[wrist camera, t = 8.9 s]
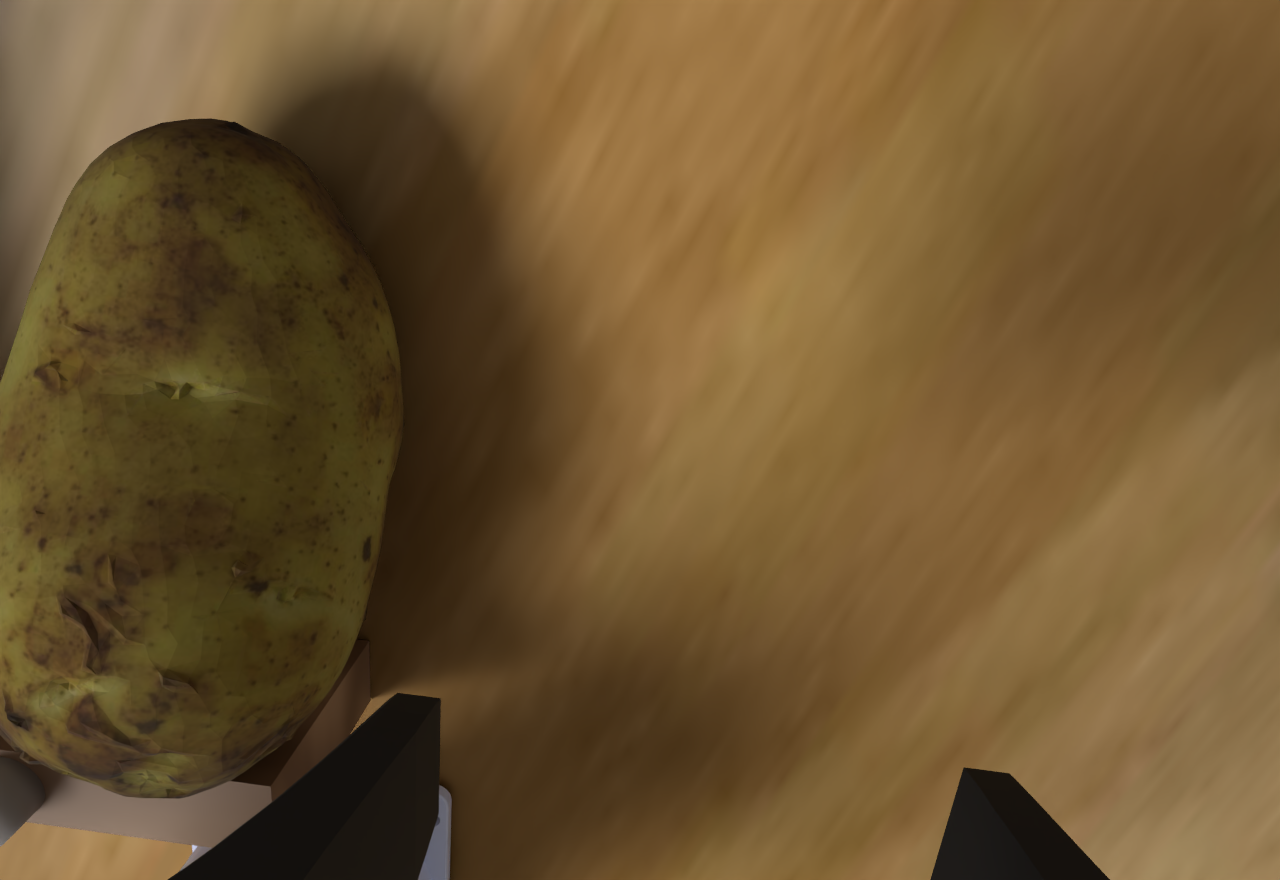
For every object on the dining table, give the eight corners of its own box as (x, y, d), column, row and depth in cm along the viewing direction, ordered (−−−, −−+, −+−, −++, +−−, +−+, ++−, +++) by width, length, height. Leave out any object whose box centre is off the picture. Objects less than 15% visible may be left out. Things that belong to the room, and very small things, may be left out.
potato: (549, 250, 19) (434, 320, 11) (371, 669, 23) (204, 922, 15) (207, 82, 18) (-158, 35, 10) (92, 545, 22) (-222, 745, 15)
